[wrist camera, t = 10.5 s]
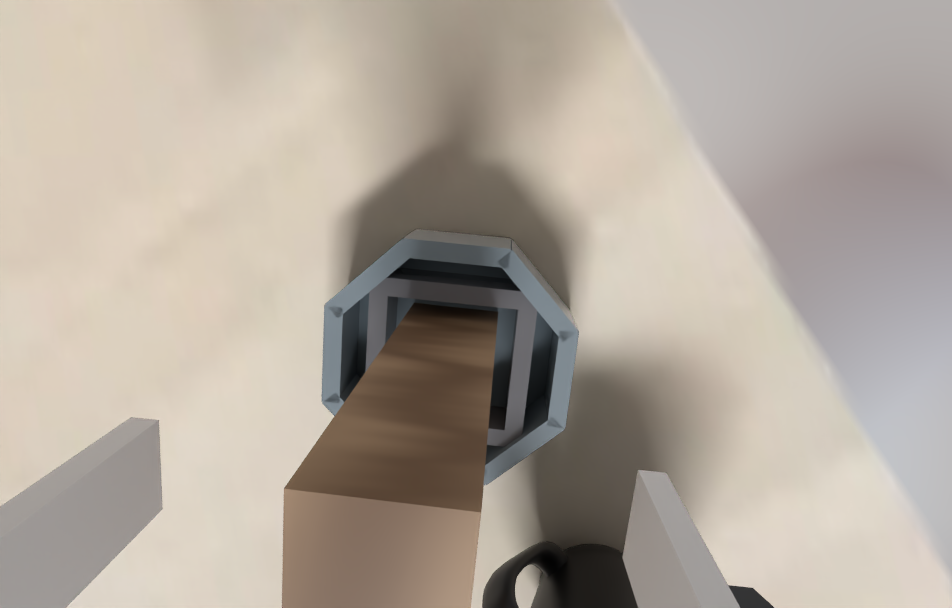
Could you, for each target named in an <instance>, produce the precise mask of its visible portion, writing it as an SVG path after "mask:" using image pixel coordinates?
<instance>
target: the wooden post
mask: <svg viewBox="0 0 952 608" xmlns="http://www.w3.org/2000/svg"><path fill="white" fill-rule="evenodd" d="M497 321H498V312H496V311H486V310H477V309H468V308H459V307H450V306H440V305H431V304H422V303H413V305H412V306H411V308H410V309H409V311H408V312H407V313H406V315H405V316H404V318H403V319H402V321H401V322H400V324H399V325H398V326H397V328H396V329H395V331H394V332H393V334H392V335H391V336H390V338H389V339H388V341H387V342H386V344H385V345H384V346H383V348H382V349H381V351H380V352H379V354H378V355H377V356H376V358H375V359H374V361H373V362H372V364H371V365H370V366H369V368H368V369H367V371H366V372H365V374H364V375H363V376H362V378H361V379H360V381H359V382H358V384H357V385H356V386H355V388H354V389H353V391H352V392H351V394H350V395H349V396H348V398H347V399H346V401H345V402H344V404H343V405H342V407H341V408H340V409H339V411H338V412H337V414H336V415H335V417H334V418H333V419H332V421H331V422H330V424H329V425H328V427H327V428H326V429H325V431H324V432H323V434H322V435H321V437H320V438H319V439H318V441H317V442H316V444H315V445H314V447H313V448H312V449H311V451H310V452H309V454H308V455H307V457H306V458H305V459H304V461H303V462H302V464H301V465H300V467H299V468H298V469H297V471H296V472H295V474H294V475H293V477H292V478H291V479H290V481H289V482H288V484H287V485H286V487H285V488H284V521H283V580H282V608H471V599H472V590H473V581H474V572H475V563H476V554H477V545H478V536H479V527H480V518H481V508H482V496H483V485H484V473H485V461H486V450H487V438H488V426H489V415H490V403H491V391H492V380H493V368H494V356H495V345H496V333H497Z"/></svg>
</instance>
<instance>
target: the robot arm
mask: <svg viewBox="0 0 952 608" xmlns="http://www.w3.org/2000/svg"><path fill="white" fill-rule="evenodd" d="M161 510H162V486H161V462H160V437H159V420H153V419H143V418H133V417H131V418H129V419H128V420H126V421H125V422H124V423H122V424H121V425H119V426H118V427H116V428H115V429H113V430H112V431H110V432H109V433H107V434H106V435H105V436H103V437H102V438H100V439H99V440H97V441H96V442H94V443H93V444H91V445H90V446H88V447H87V448H85V449H84V450H83V451H81V452H80V453H78V454H77V455H75V456H74V457H72V458H71V459H69V460H68V461H66V462H65V463H64V464H62V465H61V466H59V467H58V468H56V469H55V470H53V471H52V472H50V473H49V474H47V475H46V476H44V477H43V478H42V479H40V480H39V481H37V482H36V483H34V484H33V485H31V486H30V487H28V488H27V489H25V490H24V491H23V492H21V493H20V494H18V495H17V496H15V497H14V498H12V499H11V500H9V501H8V502H6V503H5V504H3V505H2V506H1V507H0V608H66V607H67V606H68V605H69V604H70V603H71V602H72V601H73V600H74V599H75V598H76V597H77V596H78V595H79V594H80V593H81V592H82V591H83V590H84V589H85V588H86V587H87V585H88V584H89V583H90V582H91V581H92V580H93V579H94V578H95V577H96V576H97V575H98V574H99V573H100V572H101V571H102V570H103V569H104V568H105V567H106V566H107V565H108V564H109V563H110V562H111V561H112V560H113V559H114V558H115V557H116V556H117V555H118V554H119V553H120V552H121V551H122V550H123V549H124V548H125V547H126V546H127V545H128V544H129V543H130V542H131V541H132V540H133V539H134V538H135V537H136V536H137V535H138V534H139V532H140V531H141V530H142V529H143V528H144V527H145V526H146V525H147V524H148V523H149V522H150V521H151V520H152V519H153V518H154V517H155V516H156V515H157V514H158V513H159V512H160V511H161ZM622 558H623V561H624V564H625V568H626V571H627V574H628V577H629V580H630V583H631V587H632V590H633V593H634V596H635V599H636V602H637V606H638V608H774V607H773V606H772V605H771V604H770V603H769V602H768V601H766V600H765V599H764V598H763V597H762V596H761V595H760V594H759V593H758V592H757V591H755V590H754V589H753V588H748V587H739V586H729V585H728V584H727V582H726V581H725V579H724V577H723V575H722V573H721V571H720V570H719V568H718V566H717V564H716V562H715V561H714V559H713V557H712V555H711V553H710V551H709V550H708V548H707V546H706V544H705V542H704V540H703V539H702V537H701V535H700V533H699V531H698V530H697V528H696V526H695V524H694V522H693V520H692V519H691V517H690V515H689V513H688V511H687V509H686V508H685V506H684V504H683V502H682V500H681V499H680V497H679V495H678V493H677V491H676V489H675V488H674V486H673V484H672V482H671V480H670V478H669V477H668V475H667V473H665V472H655V471H645V470H638V472H637V478H636V484H635V489H634V495H633V501H632V506H631V512H630V518H629V523H628V529H627V535H626V540H625V546H624V552H623V557H622Z"/></svg>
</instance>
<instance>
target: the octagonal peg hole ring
mask: <svg viewBox="0 0 952 608" xmlns="http://www.w3.org/2000/svg"><path fill="white" fill-rule="evenodd" d="M413 303H422V304H431V305H440V306H450V307H459V308H468V309H477V310H486V311H496V312H498V321H497V333H496V345H495V356H494V368H493V380H492V391H491V403H490V415H489V426H488V438H487V450H486V461H485V473H484V485H485V484H486V485H487V484H489V483H490V482H492V481H493V480H495V479H496V478H497V477H499V476H500V475H502V474H503V473H504V472H506V471H507V470H509V469H510V468H511V467H513V466H514V465H516V464H517V463H518V462H520V461H521V460H523V459H524V458H525V457H527V456H528V455H530V454H531V453H533V452H534V451H535V450H537V449H538V448H540V447H541V446H542V445H544V444H545V443H547V442H548V441H549V440H551V439H552V438H554V437H555V436H556V435H558V434H559V433H561V432H562V431H563V430H564V428H565V427H566V420H567V413H568V406H569V399H570V392H571V385H572V378H573V371H574V364H575V356H576V349H577V342H578V335H579V331H578V328H577V326H576V323H575V321H574V319H573V316H572V314H571V311H570V309H569V308H568V307H567V306H566V305H565V303H564V302H563V301H562V300H561V298H560V297H559V296H558V295H557V293H556V292H555V291H554V290H553V289H552V287H551V286H550V285H549V284H548V282H547V281H546V280H545V279H544V277H543V276H542V275H541V274H540V273H539V271H538V270H537V269H536V268H535V266H534V265H533V264H532V263H531V261H530V260H529V259H528V258H527V257H526V255H525V254H524V253H523V252H522V250H521V249H520V248H519V247H518V245H517V244H516V243H515V242H514V241H513V239H511V238H504V237H494V236H484V235H474V234H464V233H454V232H444V231H434V230H424V229H415V230H414V231H413V232H411V233H410V234H408V235H407V236H405V237H404V238H402V239H401V240H400V241H399V242H398V243H396V244H395V245H394V246H393V247H392V248H391V249H389V250H388V251H387V252H386V253H385V254H384V255H382V256H381V257H380V258H379V259H378V260H376V261H375V262H374V263H373V264H372V265H371V266H369V267H368V268H367V269H366V270H365V271H364V272H362V273H361V274H360V275H359V276H358V277H356V278H355V279H354V280H353V281H352V282H351V283H349V284H348V285H347V286H346V287H345V288H344V289H342V290H341V291H340V292H339V293H338V294H336V295H335V296H334V297H333V298H332V299H331V300H329V301H328V302H327V303H326V304H325V306H324V338H323V372H322V403H323V404H324V405H325V406H326V408H327V409H328V410H329V411H330V412H331V413H332V414H333V415H334V416H335V415H336V414H337V412H338V411H339V409H340V408H341V407H342V405H343V404H344V402H345V401H346V399H347V398H348V396H349V395H350V394H351V392H352V391H353V389H354V388H355V386H356V385H357V384H358V382H359V381H360V379H361V378H362V376H363V375H364V374H365V372H366V371H367V369H368V368H369V366H370V365H371V364H372V362H373V361H374V359H375V358H376V356H377V355H378V354H379V352H380V351H381V349H382V348H383V346H384V345H385V344H386V342H387V341H388V339H389V338H390V336H391V335H392V334H393V332H394V331H395V329H396V328H397V326H398V325H399V324H400V322H401V321H402V319H403V318H404V316H405V315H406V313H407V312H408V311H409V309H410V308H411V306H412V305H413Z"/></svg>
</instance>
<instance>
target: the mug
mask: <svg viewBox="0 0 952 608" xmlns="http://www.w3.org/2000/svg"><path fill="white" fill-rule="evenodd" d="M622 557H623V554H622V553H621V552H619V551H618V550H616V549H613V548H610V547H607V546H603V545H596V544H586V545H579V546H575V547H571V548H569V549H567V550H565V551H562V549H561V548H560V547H558V546H557V545H556V544H554V543H551V542H540V543H538V544H535V545H533V546H531V547H529V548H528V549H526V550H524V551H523V552H521V553H520V554H518V555H516V556H515V557H513V558H512V559H510V560H509V561H507V562H506V563H504V564H503V565H502V566H501V567H499V568H498V569H497V570H496V571H495V572H494V573H493V574H492V576H491V578H490V579H489V581H488V582H487V584H486V587H485V589H484V594H483V603H482V607H483V608H519V607H518V605H517V602H516V598H515V583H516V578H517V576H518V574H519V573H520V572H521V571H522V569H523V568H524V567H526V566H527V565H530V564H533V565H535V566H537V567H538V568H539V569H540V570H541V571H542V572H543V573H542V575H541V578H540V583H539V586H538V589H537V592H536V595H535V597H534V600H533V603H532V606H531V608H638V606H637V602H636V599H635V596H634V593H633V590H632V587H631V583H630V580H629V577H628V574H627V571H626V568H625V564H624V561H623V558H622Z"/></svg>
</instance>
